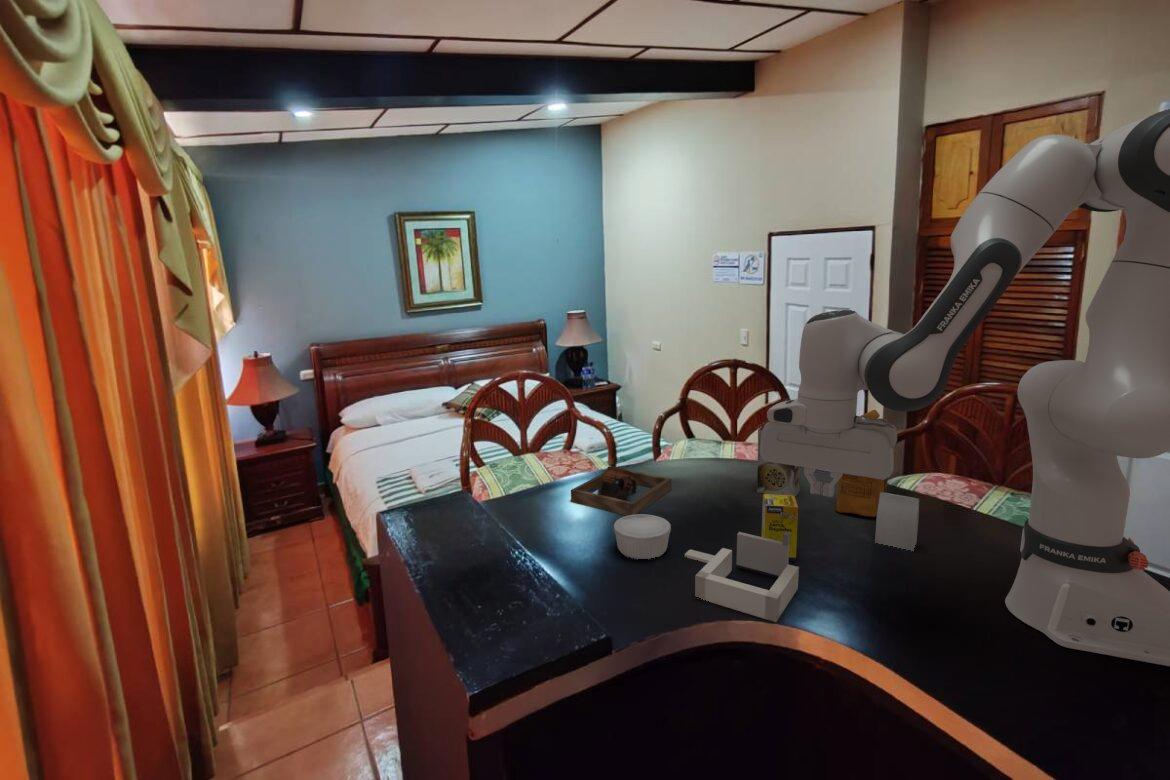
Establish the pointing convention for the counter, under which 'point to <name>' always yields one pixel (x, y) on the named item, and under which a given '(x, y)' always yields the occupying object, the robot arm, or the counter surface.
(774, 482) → the coffee box
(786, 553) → the plate
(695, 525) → the counter surface
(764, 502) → the supplement box
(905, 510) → the grey rectangular block
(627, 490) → the pottery mug
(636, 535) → the ramekin
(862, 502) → the coffee package
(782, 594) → the white handled frame
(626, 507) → the frame
